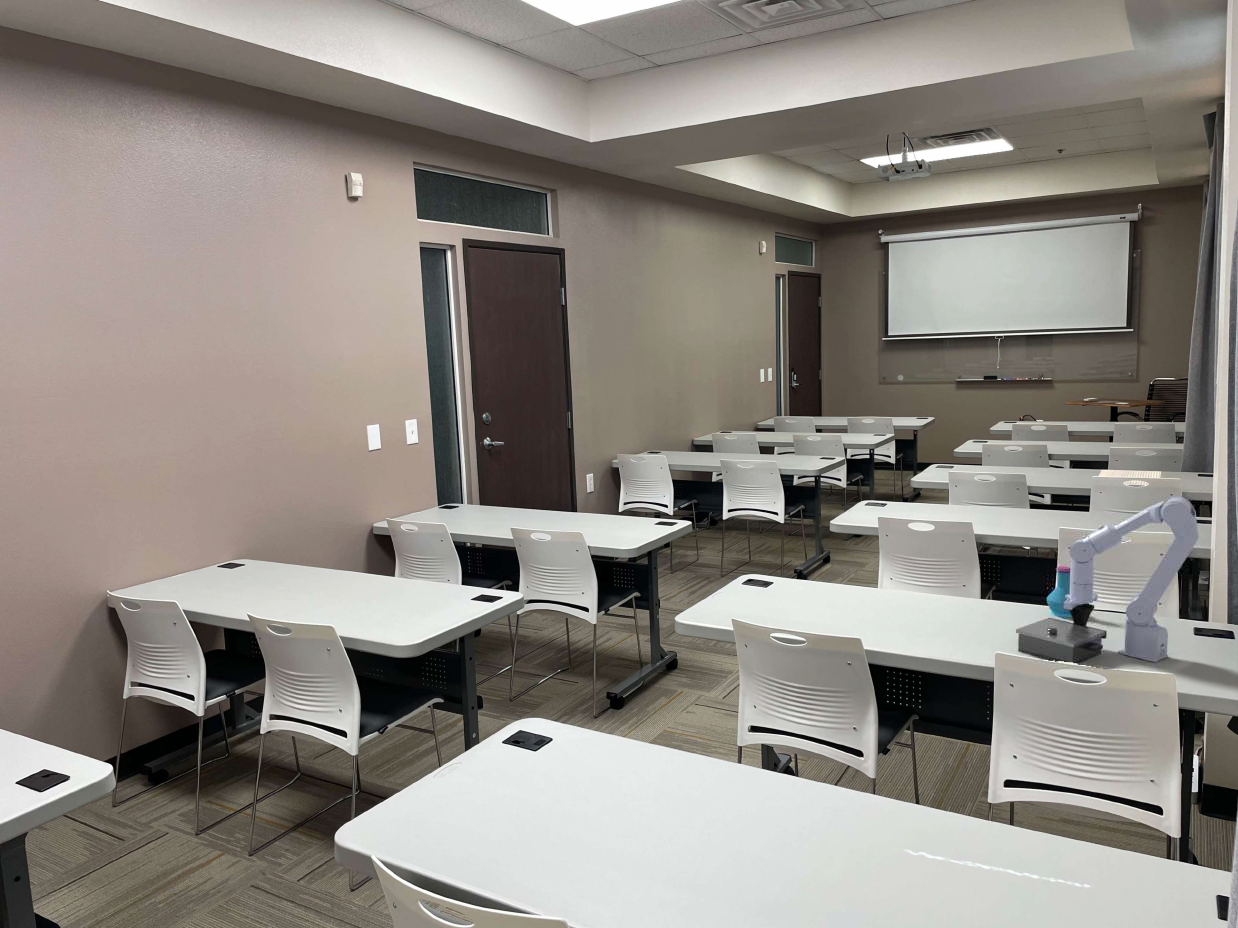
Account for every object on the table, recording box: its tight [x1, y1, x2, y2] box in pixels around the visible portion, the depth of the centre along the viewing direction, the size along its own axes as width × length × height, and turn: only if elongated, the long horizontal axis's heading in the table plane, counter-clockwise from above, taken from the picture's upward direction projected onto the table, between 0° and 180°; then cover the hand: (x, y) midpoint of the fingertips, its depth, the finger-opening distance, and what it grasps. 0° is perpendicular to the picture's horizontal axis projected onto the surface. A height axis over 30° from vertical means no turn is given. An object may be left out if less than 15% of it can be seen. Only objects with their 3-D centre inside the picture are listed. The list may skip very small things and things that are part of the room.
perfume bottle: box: [1046, 565, 1072, 618], centre depth 270 cm, size 9×9×15 cm
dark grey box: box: [1017, 633, 1104, 664], centre depth 236 cm, size 21×15×5 cm
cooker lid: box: [1015, 617, 1108, 648], centre depth 236 cm, size 16×17×3 cm
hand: (1079, 629), depth 241 cm, fingers closed
